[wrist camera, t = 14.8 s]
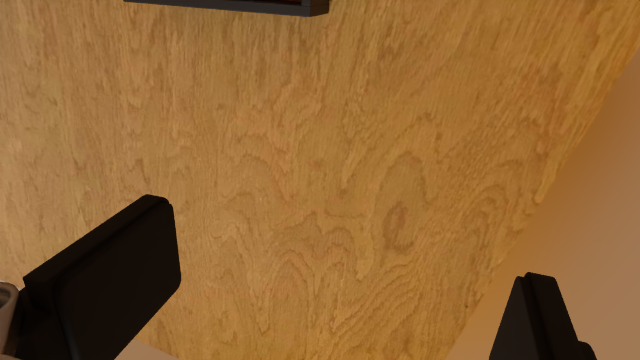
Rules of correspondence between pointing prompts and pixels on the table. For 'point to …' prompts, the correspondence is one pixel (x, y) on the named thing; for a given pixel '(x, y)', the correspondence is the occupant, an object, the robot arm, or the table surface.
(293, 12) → the divided storage box
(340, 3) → the table surface
